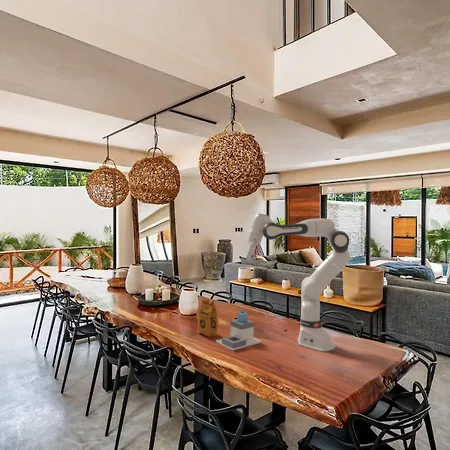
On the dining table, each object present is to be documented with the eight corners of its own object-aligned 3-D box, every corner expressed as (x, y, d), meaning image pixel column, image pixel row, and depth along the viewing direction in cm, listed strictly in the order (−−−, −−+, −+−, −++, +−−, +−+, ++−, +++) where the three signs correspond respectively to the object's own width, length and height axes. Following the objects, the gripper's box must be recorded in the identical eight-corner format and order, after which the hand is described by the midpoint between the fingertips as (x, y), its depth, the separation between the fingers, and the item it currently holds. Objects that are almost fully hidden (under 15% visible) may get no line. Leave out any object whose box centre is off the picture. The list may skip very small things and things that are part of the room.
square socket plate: (261, 342, 205) (261, 324, 205) (232, 350, 191) (233, 330, 191) (243, 335, 217) (244, 317, 217) (215, 341, 204) (216, 323, 204)
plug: (246, 326, 209) (247, 311, 209) (241, 327, 207) (242, 312, 207) (242, 324, 213) (242, 310, 213) (237, 325, 210) (237, 311, 210)
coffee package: (207, 338, 209) (208, 302, 209) (195, 333, 219) (196, 298, 219) (220, 335, 216) (220, 300, 216) (208, 330, 225) (209, 296, 225)
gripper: (260, 241, 203) (253, 263, 204) (258, 238, 223) (252, 258, 224) (250, 238, 203) (242, 260, 204) (249, 235, 224) (243, 255, 224)
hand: (247, 259), depth 214 cm, fingers open, 8 cm apart
